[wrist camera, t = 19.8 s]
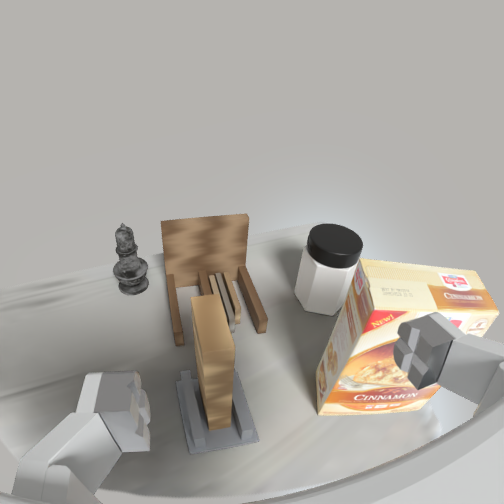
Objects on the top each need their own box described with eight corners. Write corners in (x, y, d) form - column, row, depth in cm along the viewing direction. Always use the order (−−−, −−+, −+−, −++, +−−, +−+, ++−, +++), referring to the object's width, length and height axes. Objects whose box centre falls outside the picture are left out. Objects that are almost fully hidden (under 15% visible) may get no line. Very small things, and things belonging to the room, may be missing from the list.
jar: (314, 274, 57) (328, 216, 50) (352, 296, 53) (372, 238, 46) (284, 298, 52) (296, 236, 45) (326, 324, 48) (346, 263, 41)
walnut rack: (175, 346, 42) (166, 281, 35) (167, 282, 52) (160, 221, 45) (265, 332, 46) (276, 268, 39) (242, 274, 56) (246, 213, 49)
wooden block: (209, 430, 32) (202, 352, 23) (199, 388, 37) (190, 297, 27) (230, 427, 33) (235, 347, 23) (218, 385, 37) (218, 293, 28)
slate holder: (189, 454, 30) (187, 445, 28) (175, 383, 37) (172, 368, 35) (259, 441, 32) (262, 431, 30) (237, 373, 40) (238, 358, 38)
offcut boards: (220, 334, 45) (220, 318, 43) (208, 287, 52) (207, 271, 50) (242, 331, 46) (243, 314, 44) (227, 285, 53) (227, 269, 51)
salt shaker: (137, 268, 55) (128, 209, 48) (157, 284, 52) (149, 222, 45) (110, 284, 51) (96, 223, 44) (129, 301, 48) (115, 238, 41)
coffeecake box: (316, 416, 35) (373, 308, 23) (314, 370, 41) (356, 254, 29) (420, 412, 35) (502, 313, 23) (410, 371, 41) (475, 267, 29)
